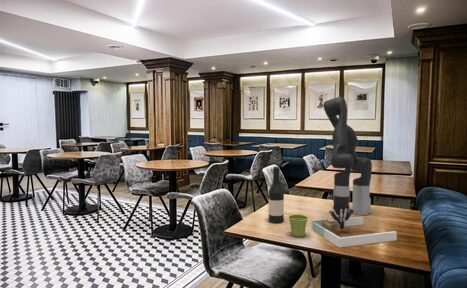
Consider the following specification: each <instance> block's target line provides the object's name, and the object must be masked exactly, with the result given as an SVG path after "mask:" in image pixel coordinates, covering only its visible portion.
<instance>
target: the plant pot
mask: <svg viewBox="0 0 467 288" xmlns="http://www.w3.org/2000/svg"><path fill="white" fill-rule="evenodd" d="M287 218H288V220H289V224H290V225H289V226H290V232H291V233H290V234H291V235H292V236H294V237H299V238H301V237H304V236H305V234H306V227H307V222H308V220H309V216H306V215H305V214H290V215H288V216H287Z"/></svg>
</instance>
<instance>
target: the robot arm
mask: <svg viewBox="0 0 467 288" xmlns="http://www.w3.org/2000/svg"><path fill="white" fill-rule="evenodd" d="M322 105H323V110H324V112H325V114H326V116H327V118H328V120H329V121H330V123H331V125H332V127H333V131H332V132H333V133H332V138H331V139H332V154H331V158H330V165H331V167H332V168H334V169H343V171H340V172H336V173H335V174H334V176H333V177H334V178H333V179H334V180H333V184H334V185H333V197H332V198H333V199H332V200H333V201H332V203H333V206H332V209H331V210H329V211H328V213H329V215H330V216H331V217H332V220H333V219H334V220H336V221H338V223H339V224H340V230H344V229H345V227H344V222H345V221H346V220H348V219H349V218H351V216H352V215H353V214H354V215H358V216H368V215H371V210H372V209H371V208H372V207H371V206H372V205H371V204H372V198H371V197H370V194H371V193H370V191H371V189H370V186H371V184H370V183H371V179H372V171H373V169H372V167H373V162H372V159H370V158H368V157H361V156H358V155H357V153H356V148H357V146H358V143H359V141H358V136H357V134H356V132H355V130H354V128H353V127H351V126H350V125H348V105H347V102H346V100H345V98H344V97H343V96H338V97H334V98H331V99H328V100H325V101H324V102H323V104H322ZM338 116H339V118H338ZM342 152H344V153H342ZM352 172H353V173H359V174H360V176H359V177H357V178H354V179H353V180H352V203H351V204H352V206H351V208H350V195H351V194H350V192H351V190H350V177H351V173H352Z"/></svg>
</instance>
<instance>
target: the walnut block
mask: <svg viewBox="0 0 467 288" xmlns="http://www.w3.org/2000/svg"><path fill="white" fill-rule="evenodd" d="M322 227H323V228H325V229H327V230H328V231H330V232H332V233H333V234H335V235H337V236H338V235H339V236H340V234H341V229H340V224H339V223H337V222H335V221H323V222H322Z"/></svg>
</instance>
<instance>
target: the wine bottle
mask: <svg viewBox="0 0 467 288" xmlns="http://www.w3.org/2000/svg"><path fill="white" fill-rule="evenodd" d="M272 174H273V175H272V185H271V186H270V188H269V189H268V222H269V223H270V224H276V225H277V224H282V223H284V221H285V220H284V218H285V217H284V214H285V213H284V211H285V210H284V209H285V203H284V202H285V201H284V200H285V198H284V197H285V191H284V190H283V188H282V187H281V183H280V167H279V166H273V168H272Z"/></svg>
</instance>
